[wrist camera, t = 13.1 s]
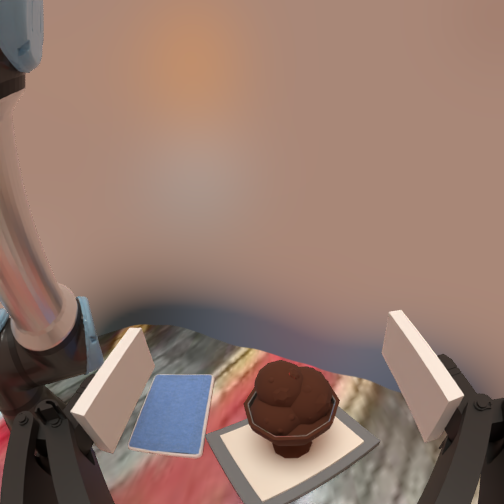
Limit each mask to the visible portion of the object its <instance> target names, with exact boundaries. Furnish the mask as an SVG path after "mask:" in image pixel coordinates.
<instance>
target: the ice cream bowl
mask: <svg viewBox="0 0 504 504" xmlns="http://www.w3.org/2000/svg"><path fill="white" fill-rule="evenodd" d="M339 401H340V400H339V399H338V397H337V395H336V394H335V392H334V391H333V389H332V388H331V386H330V384H329V382H328V381H327V380H326V379H325V377H324V376H323V374H322V373H321V372H319V371H316V370H315V369H314V368H311V367H310V368H309V367H298V366H297V365H295V364H292V363H289V362H286V361H283V360H279V361H275V362H271V363H268V364H267V365H266V366H264V367H263V368H262V369H261V370H260V371H259V373H258V375H257V377H256V380H255V387H254V389H253V390H252V392H251V393H250V395H249V397H248V398H247V400H246V401H245V403H244V407H245V411H246V415H247V419H248V423H249V426H250V427H251V429H252V430H253V431H254V432H255V433H257V434H258V435H260V436H262V437H263V438H265V439H267V440H268V441H270V442H272V445H273V448H274V451H275V453H277V454H278V455H280V456H282V457H284V458H299V457H301V456H303V455H304V454H306V453H308V452H309V450H310V447H311V445H312V440H314V439H315V438H317V437H318V436H320V435H322V434H323V433H325V432H326V431H327V430H329V429H330V427H331V425H332V424H333V421H334V418H335V415H336V411H337V408H338V404H339Z"/></svg>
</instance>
